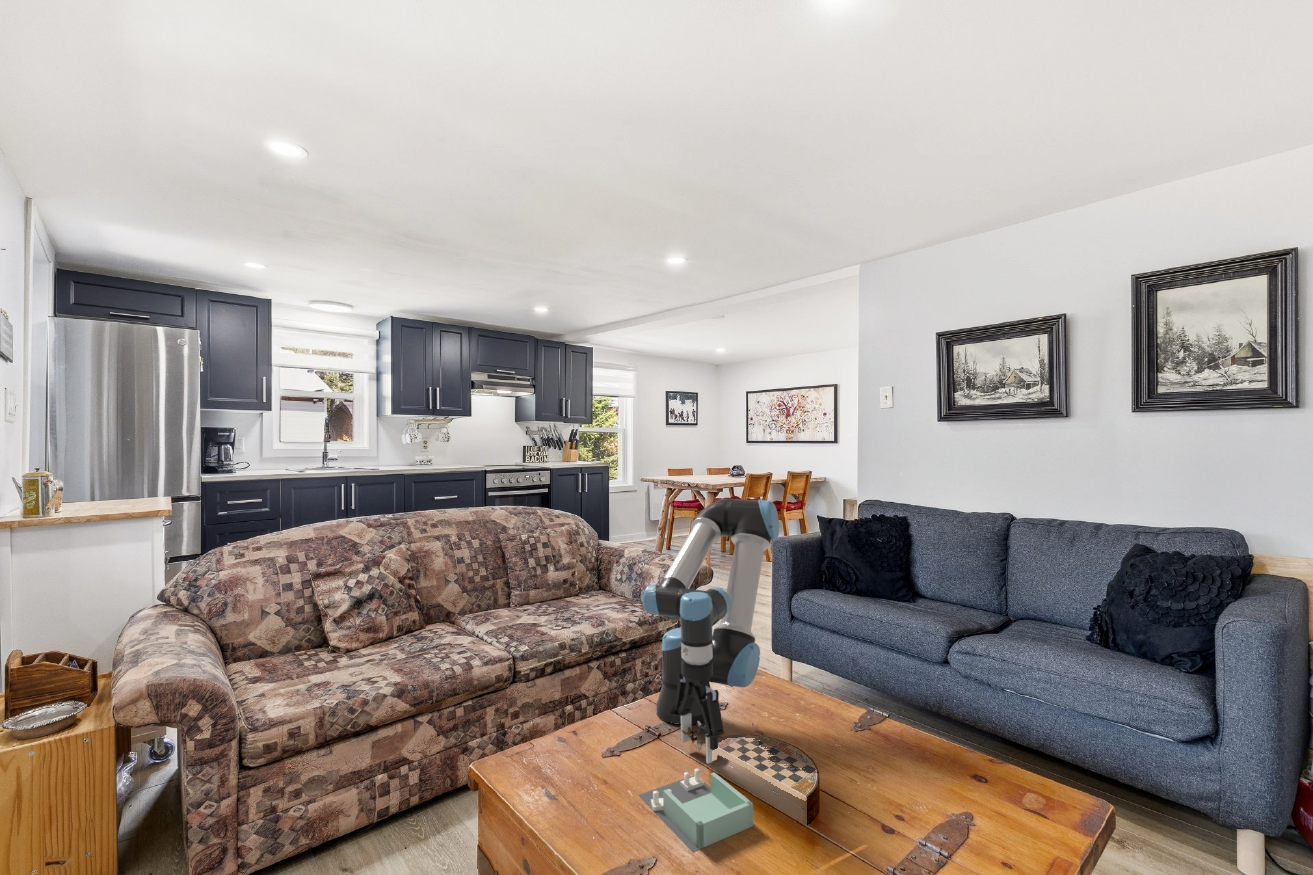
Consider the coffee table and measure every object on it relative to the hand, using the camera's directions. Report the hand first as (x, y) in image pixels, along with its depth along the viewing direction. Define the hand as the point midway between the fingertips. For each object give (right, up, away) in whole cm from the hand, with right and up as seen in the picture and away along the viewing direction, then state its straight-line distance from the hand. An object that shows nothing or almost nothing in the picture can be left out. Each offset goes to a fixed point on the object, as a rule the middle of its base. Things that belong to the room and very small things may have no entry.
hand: (698, 750), depth 147 cm
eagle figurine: (+2, -1, +1) cm, 2 cm away
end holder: (0, -2, -23) cm, 23 cm away
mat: (-2, -3, -20) cm, 20 cm away
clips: (-6, -2, -15) cm, 16 cm away
